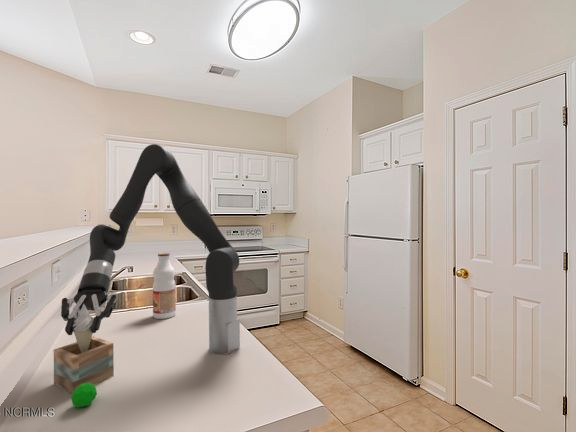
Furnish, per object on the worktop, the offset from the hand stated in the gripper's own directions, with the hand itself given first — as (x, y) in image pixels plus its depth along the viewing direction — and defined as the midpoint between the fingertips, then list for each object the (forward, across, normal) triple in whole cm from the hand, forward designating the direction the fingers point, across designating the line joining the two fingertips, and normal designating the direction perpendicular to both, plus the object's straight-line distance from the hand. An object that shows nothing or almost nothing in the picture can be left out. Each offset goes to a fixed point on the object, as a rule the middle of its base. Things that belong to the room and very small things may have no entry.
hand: (81, 332), depth 80 cm
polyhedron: (+17, +4, +2) cm, 18 cm away
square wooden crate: (+8, 0, +11) cm, 13 cm away
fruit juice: (-27, +14, +47) cm, 56 cm away
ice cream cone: (+4, 0, +7) cm, 8 cm away
